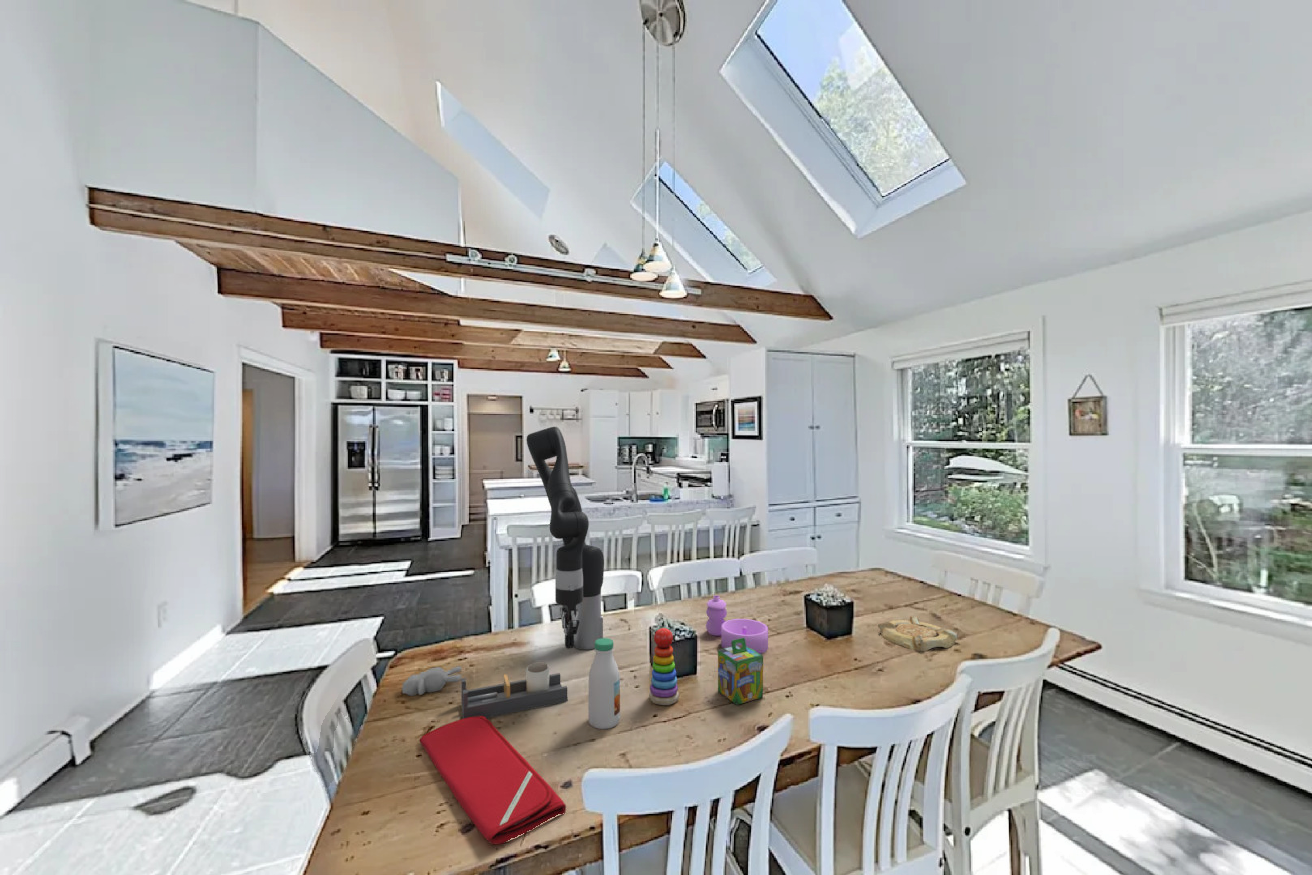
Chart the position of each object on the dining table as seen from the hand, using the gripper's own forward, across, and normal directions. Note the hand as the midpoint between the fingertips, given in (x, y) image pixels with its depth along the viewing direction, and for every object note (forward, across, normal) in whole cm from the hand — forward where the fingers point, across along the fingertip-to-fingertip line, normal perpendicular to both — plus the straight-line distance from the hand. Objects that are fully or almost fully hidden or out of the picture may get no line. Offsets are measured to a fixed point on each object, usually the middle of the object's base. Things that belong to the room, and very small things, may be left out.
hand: (569, 647), depth 145 cm
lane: (+12, 0, -15) cm, 19 cm away
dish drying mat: (+13, +28, -24) cm, 39 cm away
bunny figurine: (+13, -17, -35) cm, 41 cm away
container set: (+12, -12, +60) cm, 62 cm away
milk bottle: (+12, +18, +4) cm, 22 cm away
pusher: (+11, 0, -22) cm, 24 cm away
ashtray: (+12, +10, +119) cm, 120 cm away
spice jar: (+11, 0, -9) cm, 14 cm away
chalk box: (+12, +20, +42) cm, 48 cm away
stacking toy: (+12, +14, +22) cm, 29 cm away
